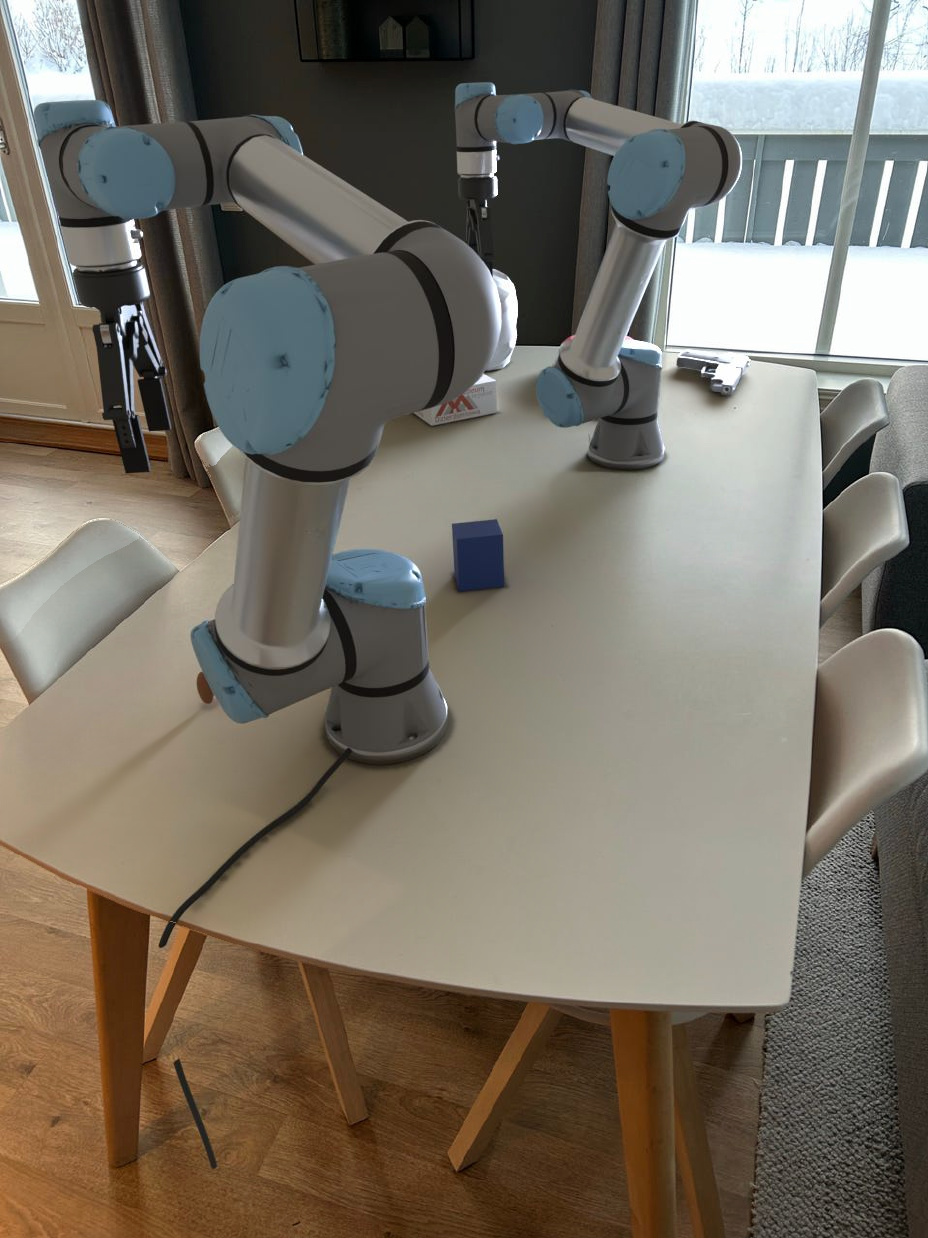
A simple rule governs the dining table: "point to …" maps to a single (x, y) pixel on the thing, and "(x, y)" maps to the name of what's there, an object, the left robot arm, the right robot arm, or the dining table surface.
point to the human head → (505, 321)
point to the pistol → (716, 368)
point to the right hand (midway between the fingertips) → (480, 290)
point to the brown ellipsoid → (204, 689)
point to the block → (478, 555)
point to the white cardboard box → (465, 404)
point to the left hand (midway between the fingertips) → (149, 449)
